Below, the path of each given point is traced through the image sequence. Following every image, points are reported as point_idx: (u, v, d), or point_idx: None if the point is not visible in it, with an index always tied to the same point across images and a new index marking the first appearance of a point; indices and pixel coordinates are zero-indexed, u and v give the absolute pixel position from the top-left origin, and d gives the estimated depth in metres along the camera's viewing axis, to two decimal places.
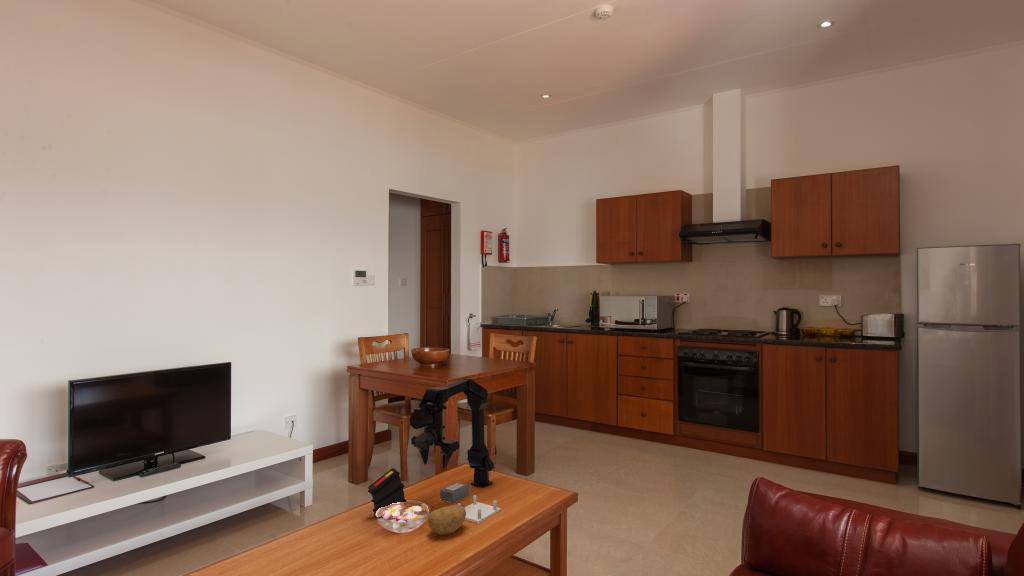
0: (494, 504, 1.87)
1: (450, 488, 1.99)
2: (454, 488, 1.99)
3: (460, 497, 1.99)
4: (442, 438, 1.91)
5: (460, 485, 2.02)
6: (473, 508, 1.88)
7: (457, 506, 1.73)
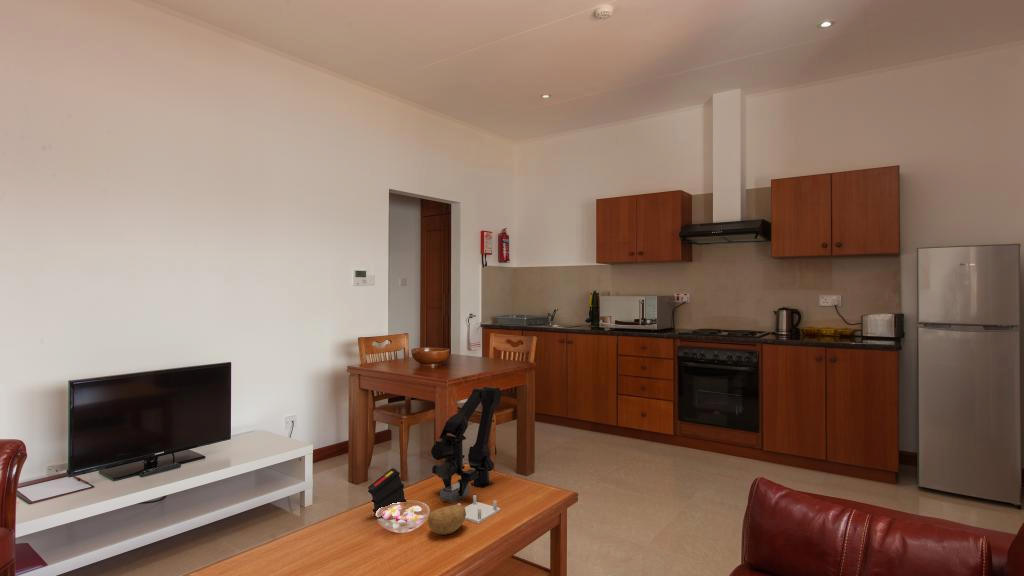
0: (494, 504, 1.87)
1: (450, 488, 1.99)
2: (454, 488, 1.99)
3: (460, 497, 1.99)
4: (462, 467, 2.00)
5: None
6: (473, 508, 1.88)
7: (457, 506, 1.73)
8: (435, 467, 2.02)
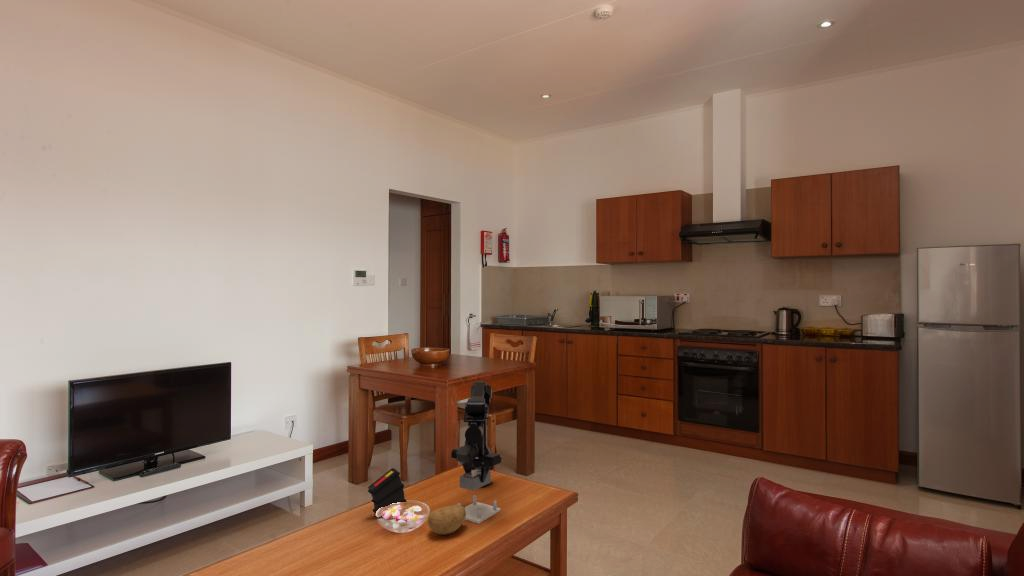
0: (494, 504, 1.87)
1: (470, 474, 1.85)
2: (475, 474, 1.85)
3: (481, 484, 1.84)
4: (483, 451, 1.86)
5: None
6: (473, 508, 1.88)
7: (457, 506, 1.73)
8: (454, 451, 1.89)
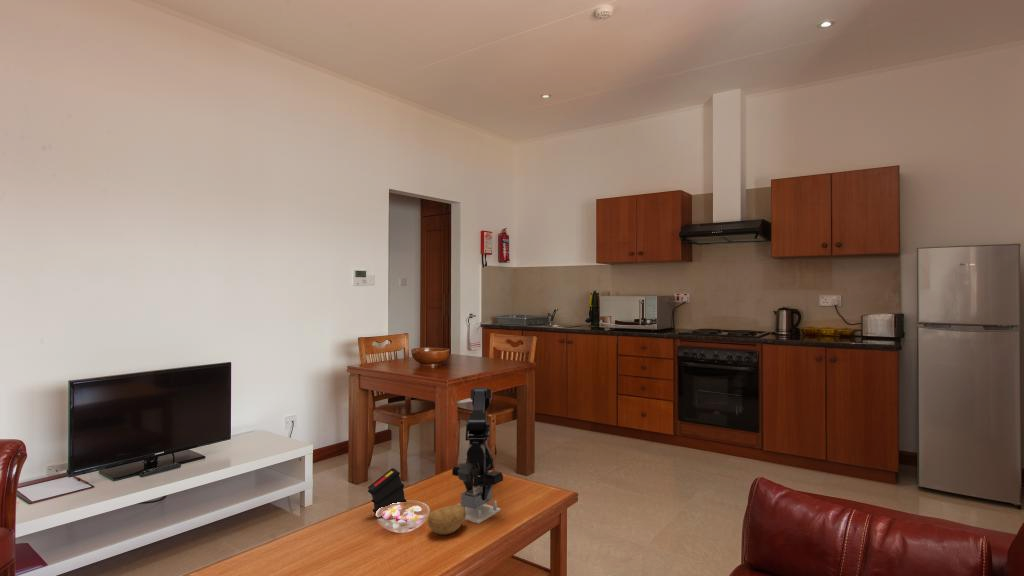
0: (494, 504, 1.87)
1: (472, 492, 1.84)
2: (476, 492, 1.84)
3: (483, 502, 1.84)
4: (485, 469, 1.86)
5: (482, 488, 1.87)
6: None
7: (457, 506, 1.73)
8: (456, 469, 1.88)
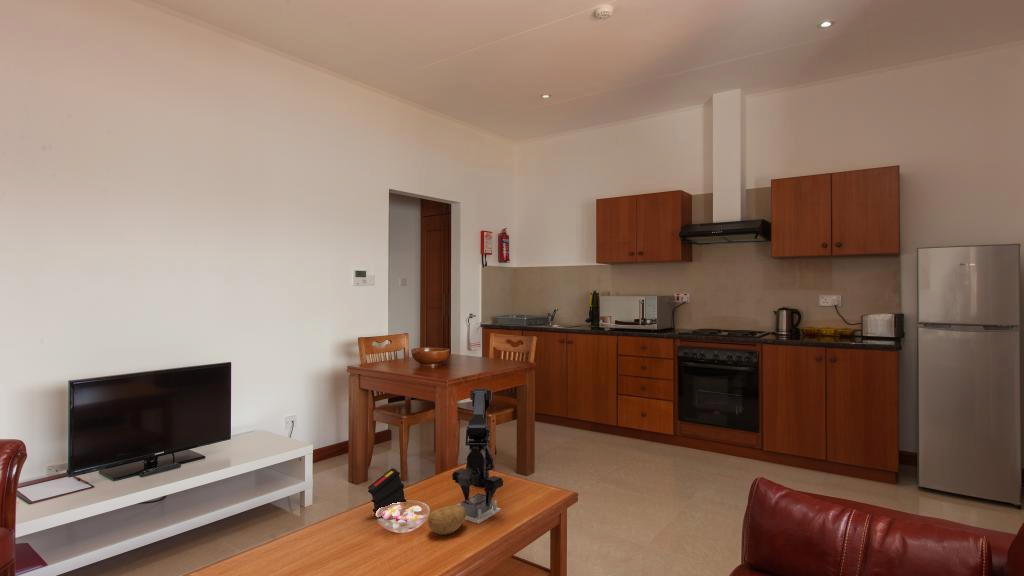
0: (494, 504, 1.87)
1: (472, 500, 1.84)
2: (476, 500, 1.84)
3: (483, 510, 1.84)
4: (485, 474, 1.85)
5: (482, 497, 1.87)
6: None
7: (457, 506, 1.73)
8: (456, 474, 1.88)
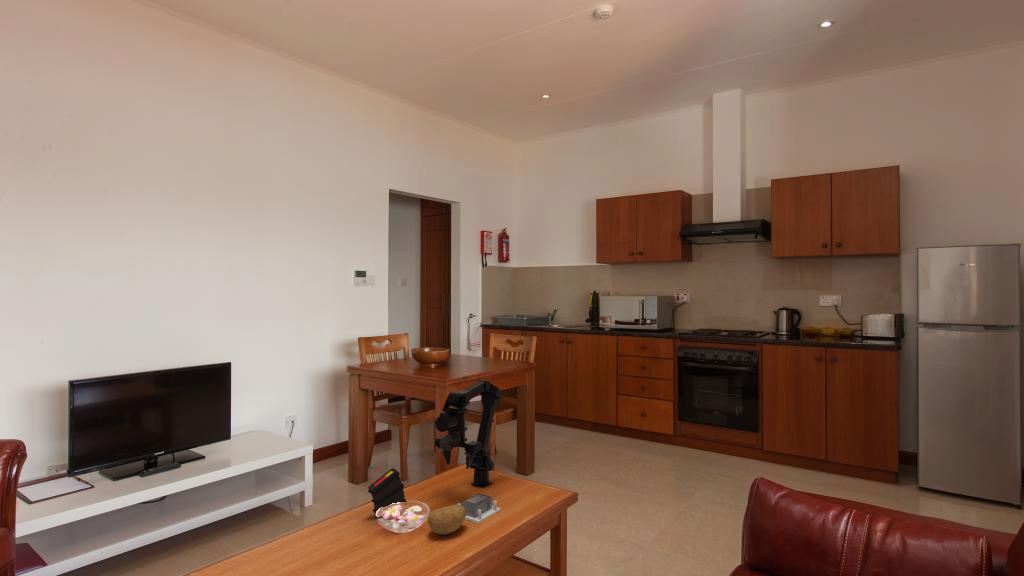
0: (494, 504, 1.87)
1: (472, 500, 1.84)
2: (476, 500, 1.84)
3: (483, 510, 1.84)
4: (465, 440, 2.00)
5: (482, 497, 1.87)
6: None
7: (457, 506, 1.73)
8: (437, 440, 2.02)
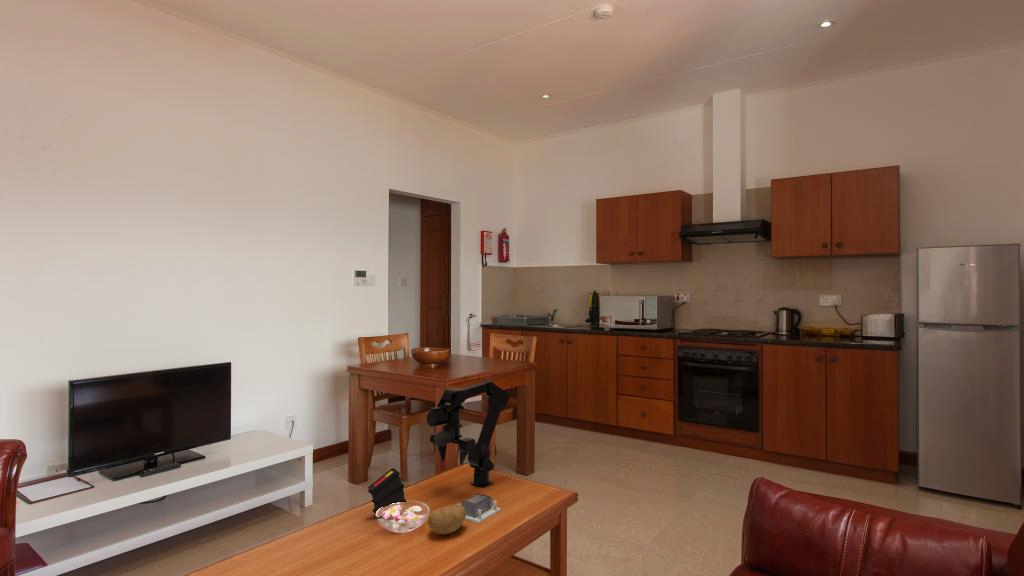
0: (494, 504, 1.87)
1: (472, 500, 1.84)
2: (476, 500, 1.84)
3: (483, 510, 1.84)
4: (459, 436, 2.04)
5: (482, 497, 1.87)
6: None
7: (457, 506, 1.73)
8: (433, 436, 2.06)
